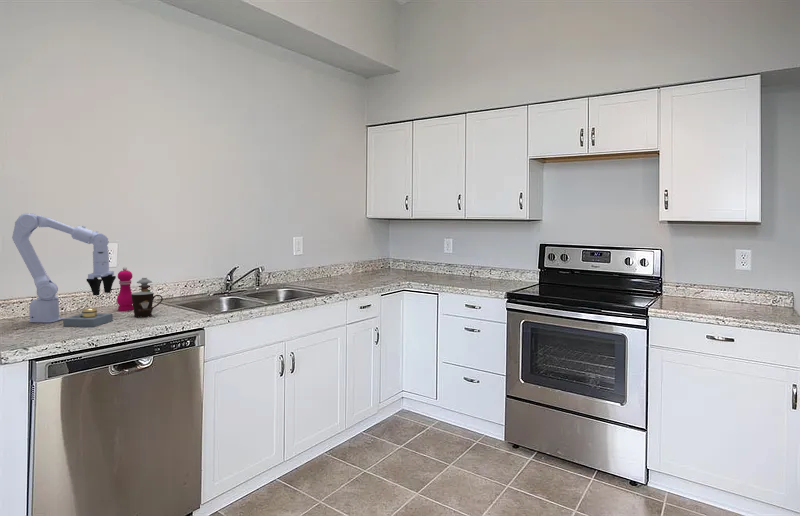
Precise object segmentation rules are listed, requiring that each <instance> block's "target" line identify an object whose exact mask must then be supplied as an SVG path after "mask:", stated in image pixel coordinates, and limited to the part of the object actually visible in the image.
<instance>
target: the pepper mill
mask: <svg viewBox="0 0 800 516" xmlns="http://www.w3.org/2000/svg"><path fill="white" fill-rule="evenodd" d="M132 278H133V273H132V271H130V270H128V267H126V266H124V267H122V270H121V271H118V273H117V279H118V280H119V281H118V284H119V286H120V290H119V292H118V296H117V298H116V303H117V305H118V306H117V310H118V311H120V312H128V311H129V310H130V311H134V308H133V302H132V296H131V294H132V293H133V292H132V290H131V284H132Z"/></svg>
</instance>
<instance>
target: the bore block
mask: <svg viewBox="0 0 800 516" xmlns="http://www.w3.org/2000/svg"><path fill="white" fill-rule="evenodd" d="M63 318H64V319H62V326H63V327H67V326H78V328H82V327H83V328H96V327H98V326H101V325H105V324H107V323H111V322H113V319H114V318H113V313H102V312H101V313H98V312H97V316H95V317H88V318H83V313H80V314H76V315H72V316H68V317H63ZM110 321H111V322H110Z"/></svg>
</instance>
